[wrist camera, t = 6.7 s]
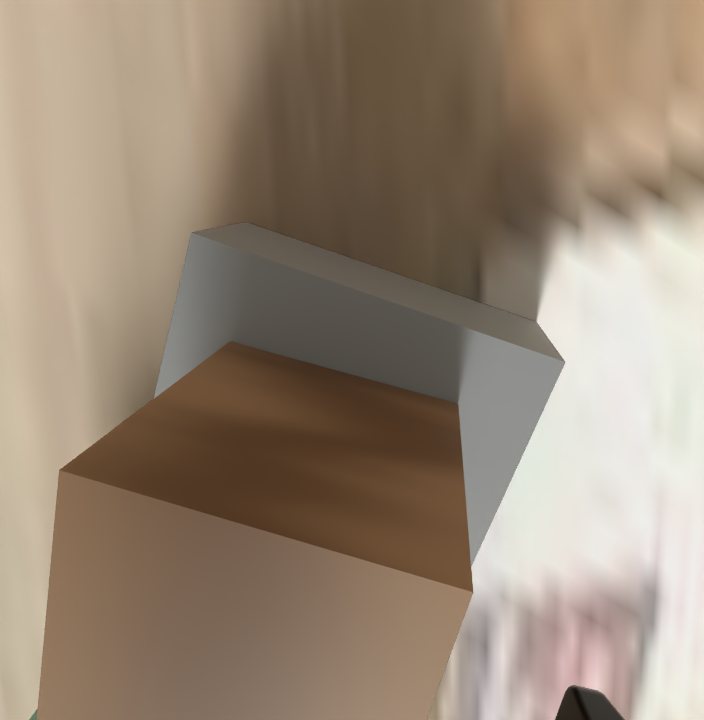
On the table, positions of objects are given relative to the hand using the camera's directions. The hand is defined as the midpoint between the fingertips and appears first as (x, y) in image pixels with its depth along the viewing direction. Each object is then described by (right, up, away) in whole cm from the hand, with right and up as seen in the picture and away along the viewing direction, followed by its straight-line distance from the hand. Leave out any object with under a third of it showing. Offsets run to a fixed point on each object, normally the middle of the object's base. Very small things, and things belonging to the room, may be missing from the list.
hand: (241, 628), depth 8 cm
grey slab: (+1, +3, +9) cm, 9 cm away
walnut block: (+1, +1, +5) cm, 5 cm away
